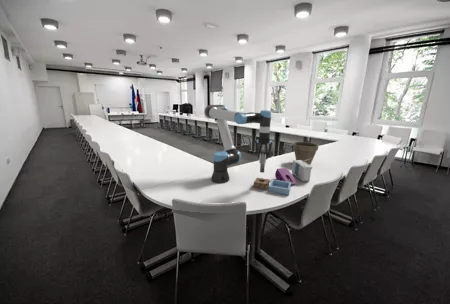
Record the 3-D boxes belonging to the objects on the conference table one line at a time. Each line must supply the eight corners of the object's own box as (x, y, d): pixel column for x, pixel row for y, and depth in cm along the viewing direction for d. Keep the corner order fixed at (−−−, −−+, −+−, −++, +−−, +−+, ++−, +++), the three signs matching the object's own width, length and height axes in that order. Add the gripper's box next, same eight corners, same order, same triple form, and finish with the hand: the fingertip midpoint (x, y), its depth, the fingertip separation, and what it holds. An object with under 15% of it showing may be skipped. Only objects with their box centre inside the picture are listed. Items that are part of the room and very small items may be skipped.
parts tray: (268, 191, 145) (269, 186, 144) (272, 184, 157) (272, 179, 156) (288, 195, 140) (289, 189, 139) (290, 187, 152) (291, 182, 151)
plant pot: (321, 166, 206) (324, 145, 200) (300, 167, 200) (302, 146, 195) (306, 159, 229) (308, 141, 224) (287, 160, 224) (289, 142, 219)
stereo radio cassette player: (291, 173, 184) (293, 152, 179) (299, 173, 184) (301, 152, 180) (301, 182, 164) (304, 159, 159) (311, 181, 164) (314, 158, 159)
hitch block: (253, 188, 151) (253, 181, 150) (256, 183, 160) (257, 177, 159) (266, 190, 147) (266, 184, 146) (269, 185, 156) (269, 179, 155)
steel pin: (258, 172, 150) (259, 149, 146) (259, 170, 154) (261, 148, 150) (264, 173, 148) (266, 150, 144) (265, 171, 152) (267, 149, 148)
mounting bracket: (294, 190, 162) (283, 174, 175) (297, 183, 157) (286, 167, 170) (284, 191, 159) (274, 175, 173) (287, 184, 154) (277, 168, 167)
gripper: (252, 132, 143) (250, 162, 149) (275, 133, 137) (272, 165, 143) (255, 130, 150) (253, 160, 156) (276, 132, 144) (274, 163, 150)
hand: (262, 162), depth 149 cm, fingers closed on steel pin, 3 cm apart
